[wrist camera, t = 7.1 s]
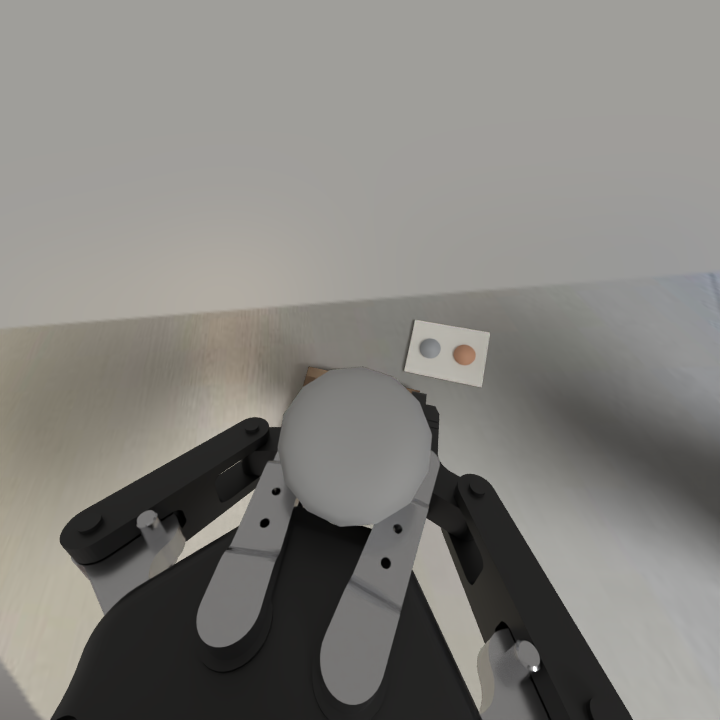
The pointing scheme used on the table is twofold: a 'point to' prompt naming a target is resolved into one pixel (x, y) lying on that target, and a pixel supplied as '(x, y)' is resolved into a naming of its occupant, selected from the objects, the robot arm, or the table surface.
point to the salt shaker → (354, 446)
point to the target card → (448, 353)
